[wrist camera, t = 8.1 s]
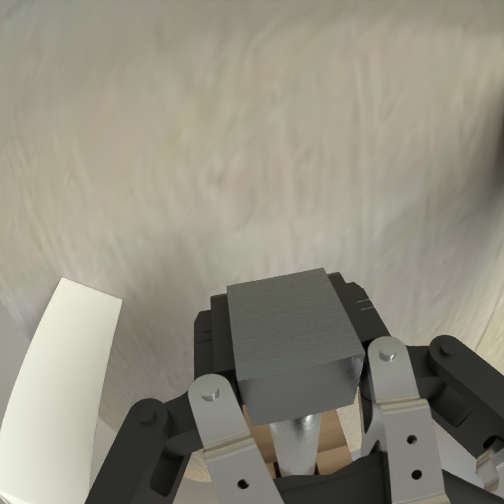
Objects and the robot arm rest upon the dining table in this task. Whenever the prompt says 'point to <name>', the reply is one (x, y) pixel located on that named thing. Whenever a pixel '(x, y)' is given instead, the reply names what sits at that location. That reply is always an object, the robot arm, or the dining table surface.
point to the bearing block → (329, 446)
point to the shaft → (293, 359)
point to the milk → (58, 400)
